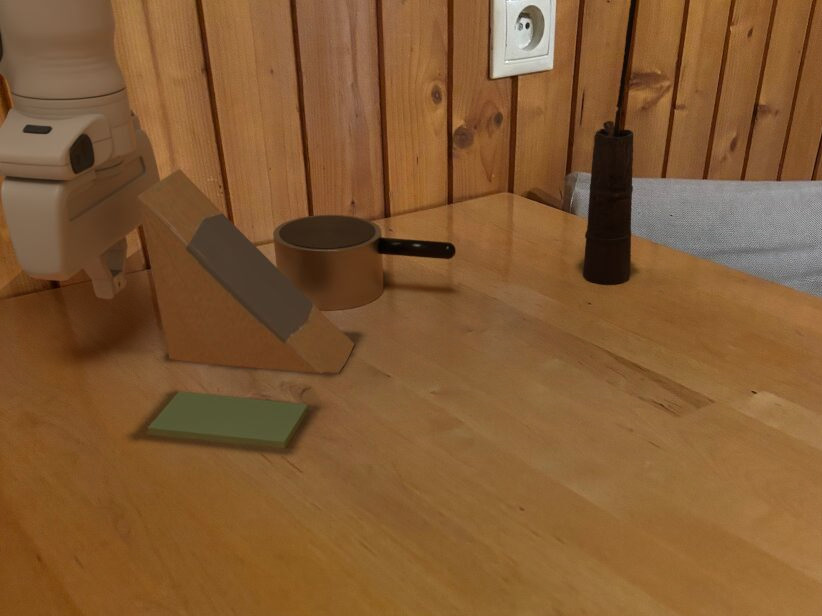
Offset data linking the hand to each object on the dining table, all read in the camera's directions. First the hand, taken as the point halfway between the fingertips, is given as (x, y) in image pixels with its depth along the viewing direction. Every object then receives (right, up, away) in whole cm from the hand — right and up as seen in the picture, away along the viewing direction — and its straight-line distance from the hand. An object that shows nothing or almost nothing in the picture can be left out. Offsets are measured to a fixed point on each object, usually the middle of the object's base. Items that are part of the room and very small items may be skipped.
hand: (112, 293), depth 85 cm
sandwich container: (+14, -6, +2) cm, 15 cm away
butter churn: (+48, +8, +19) cm, 52 cm away
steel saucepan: (+22, +5, +14) cm, 26 cm away
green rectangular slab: (+13, -14, -9) cm, 21 cm away
